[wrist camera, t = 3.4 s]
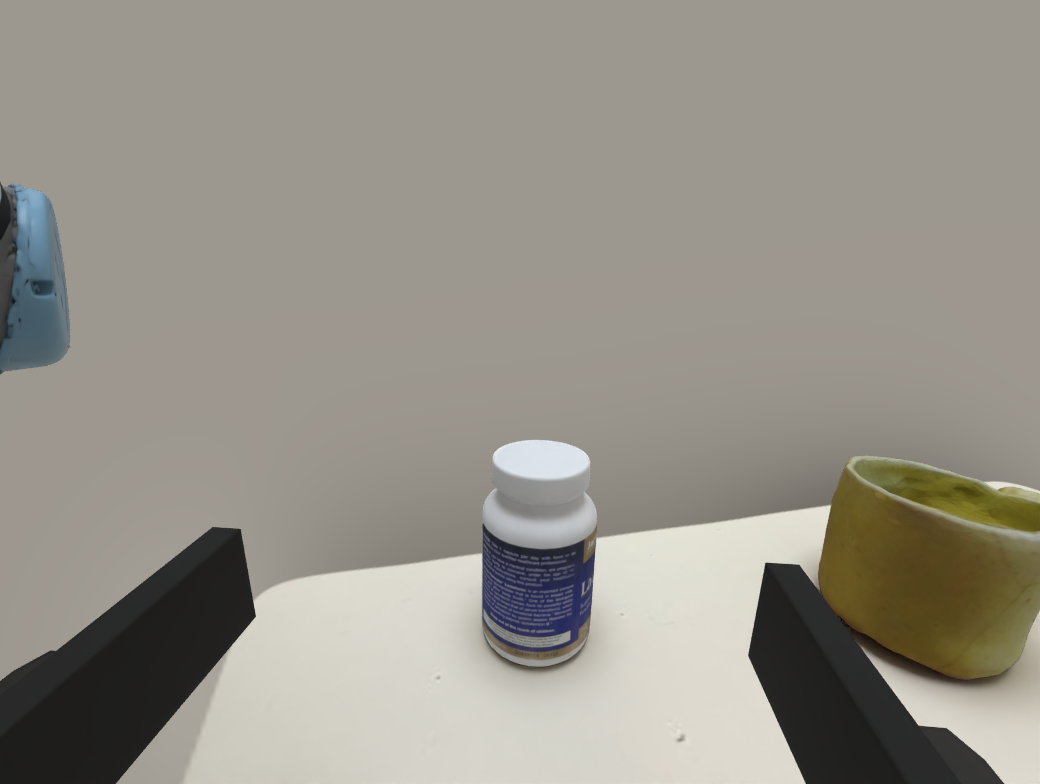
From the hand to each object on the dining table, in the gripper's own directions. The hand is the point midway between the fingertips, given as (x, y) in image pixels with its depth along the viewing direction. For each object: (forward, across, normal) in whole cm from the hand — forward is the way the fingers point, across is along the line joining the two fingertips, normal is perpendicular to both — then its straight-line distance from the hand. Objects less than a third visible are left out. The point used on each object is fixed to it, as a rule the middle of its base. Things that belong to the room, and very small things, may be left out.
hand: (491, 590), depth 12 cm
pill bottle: (+11, +1, -11) cm, 16 cm away
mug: (+14, +23, -11) cm, 29 cm away
